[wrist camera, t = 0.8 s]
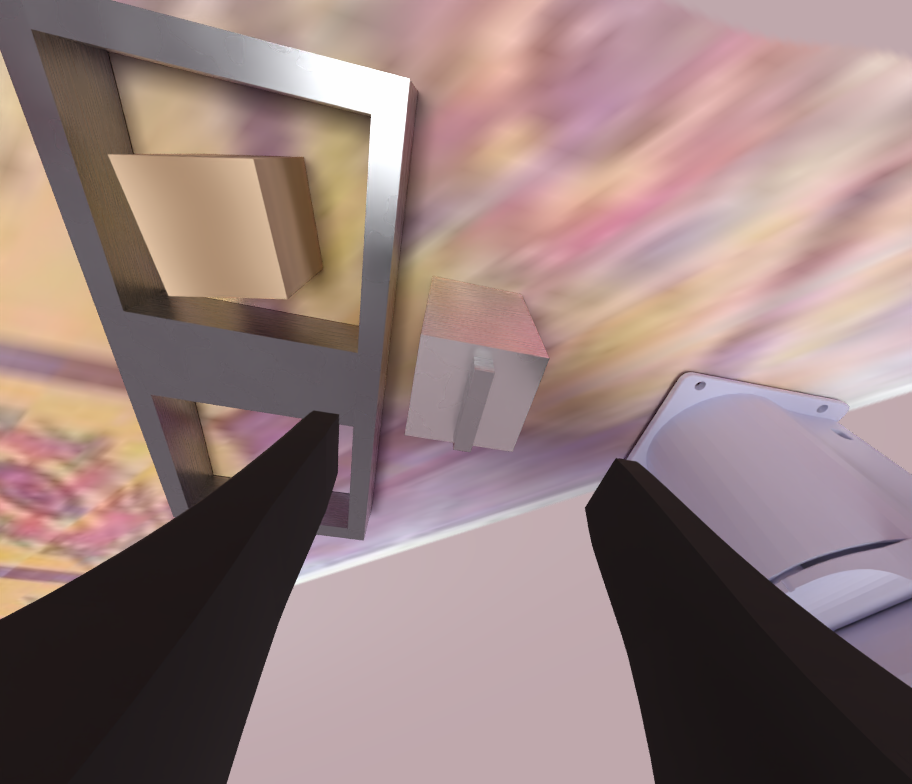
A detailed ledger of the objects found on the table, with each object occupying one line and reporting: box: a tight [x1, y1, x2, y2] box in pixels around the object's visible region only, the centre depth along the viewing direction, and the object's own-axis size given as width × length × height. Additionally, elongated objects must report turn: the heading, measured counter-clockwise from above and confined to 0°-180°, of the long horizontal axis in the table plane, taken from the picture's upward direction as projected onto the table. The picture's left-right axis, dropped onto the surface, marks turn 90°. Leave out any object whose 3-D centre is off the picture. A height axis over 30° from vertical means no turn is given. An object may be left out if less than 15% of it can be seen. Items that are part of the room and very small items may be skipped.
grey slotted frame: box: [0, 0, 418, 540], centre depth 16 cm, size 11×22×2 cm, turn 169°
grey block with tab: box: [405, 276, 549, 452], centre depth 14 cm, size 4×4×7 cm
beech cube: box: [108, 154, 323, 299], centre depth 13 cm, size 4×4×4 cm
